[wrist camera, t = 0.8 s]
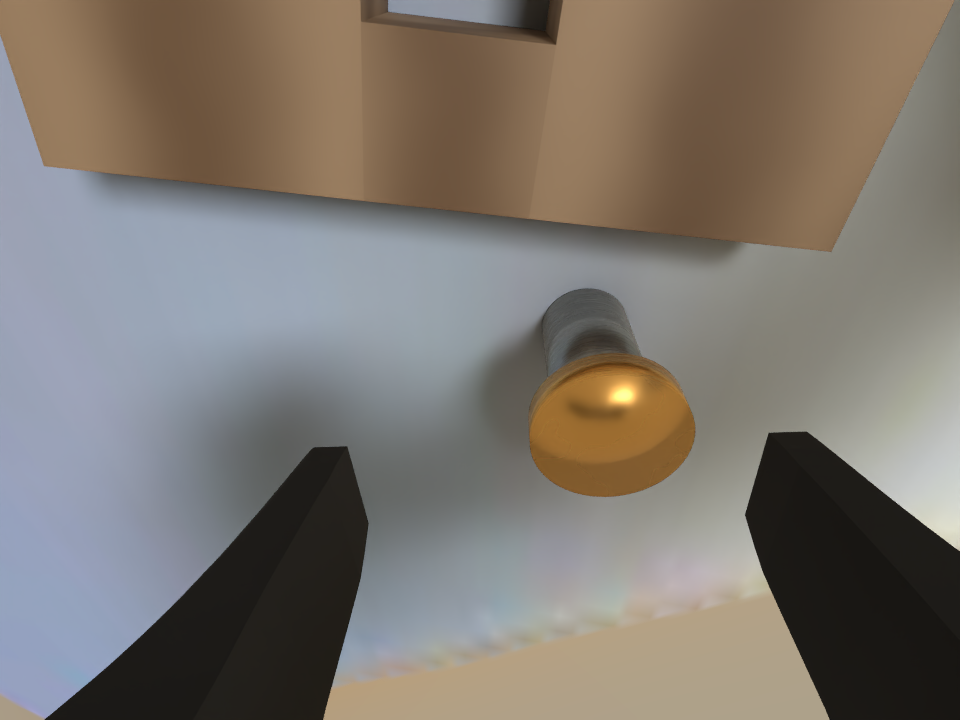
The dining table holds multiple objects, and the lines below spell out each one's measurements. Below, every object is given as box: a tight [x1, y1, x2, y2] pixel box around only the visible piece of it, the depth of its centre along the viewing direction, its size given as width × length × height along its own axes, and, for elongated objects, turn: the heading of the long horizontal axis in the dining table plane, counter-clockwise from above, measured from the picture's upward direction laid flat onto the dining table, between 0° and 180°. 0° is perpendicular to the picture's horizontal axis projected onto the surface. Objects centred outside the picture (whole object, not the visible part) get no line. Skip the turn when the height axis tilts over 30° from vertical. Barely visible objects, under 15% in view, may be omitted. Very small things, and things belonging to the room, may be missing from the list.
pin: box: [528, 289, 695, 497], centre depth 18 cm, size 4×4×6 cm
